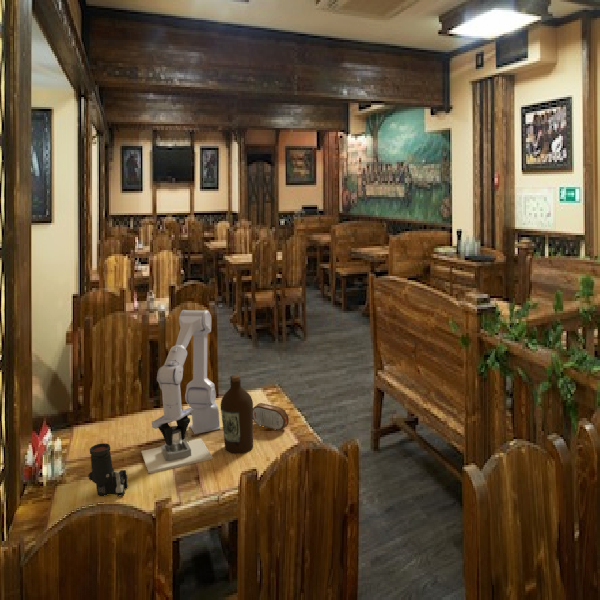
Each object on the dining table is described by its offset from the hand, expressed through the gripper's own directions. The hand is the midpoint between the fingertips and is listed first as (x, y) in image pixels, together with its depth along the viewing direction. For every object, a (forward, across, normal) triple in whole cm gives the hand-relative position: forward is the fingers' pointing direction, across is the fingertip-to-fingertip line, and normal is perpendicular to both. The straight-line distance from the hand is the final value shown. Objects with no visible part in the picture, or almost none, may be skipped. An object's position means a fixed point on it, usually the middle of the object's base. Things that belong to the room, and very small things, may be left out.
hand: (175, 441), depth 169 cm
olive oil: (+5, -17, +11) cm, 21 cm away
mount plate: (+5, 0, 0) cm, 5 cm away
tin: (+5, -35, +8) cm, 36 cm away
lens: (+2, 0, 0) cm, 3 cm away
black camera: (+5, +25, +4) cm, 26 cm away
